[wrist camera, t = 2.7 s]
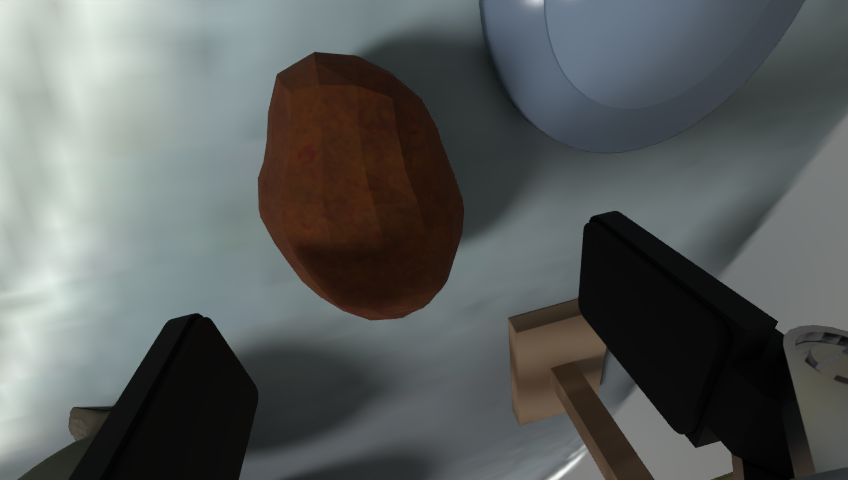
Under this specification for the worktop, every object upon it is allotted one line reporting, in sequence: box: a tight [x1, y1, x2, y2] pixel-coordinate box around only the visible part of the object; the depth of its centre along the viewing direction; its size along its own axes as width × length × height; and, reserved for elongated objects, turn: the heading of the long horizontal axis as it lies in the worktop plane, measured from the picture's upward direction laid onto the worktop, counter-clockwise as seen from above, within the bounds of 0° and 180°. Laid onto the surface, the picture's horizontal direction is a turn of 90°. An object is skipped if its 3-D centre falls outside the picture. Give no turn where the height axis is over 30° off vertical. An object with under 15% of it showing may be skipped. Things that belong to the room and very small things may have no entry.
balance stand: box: [508, 299, 654, 480], centre depth 19 cm, size 10×6×13 cm, turn 10°
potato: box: [258, 52, 464, 320], centre depth 12 cm, size 7×9×6 cm
